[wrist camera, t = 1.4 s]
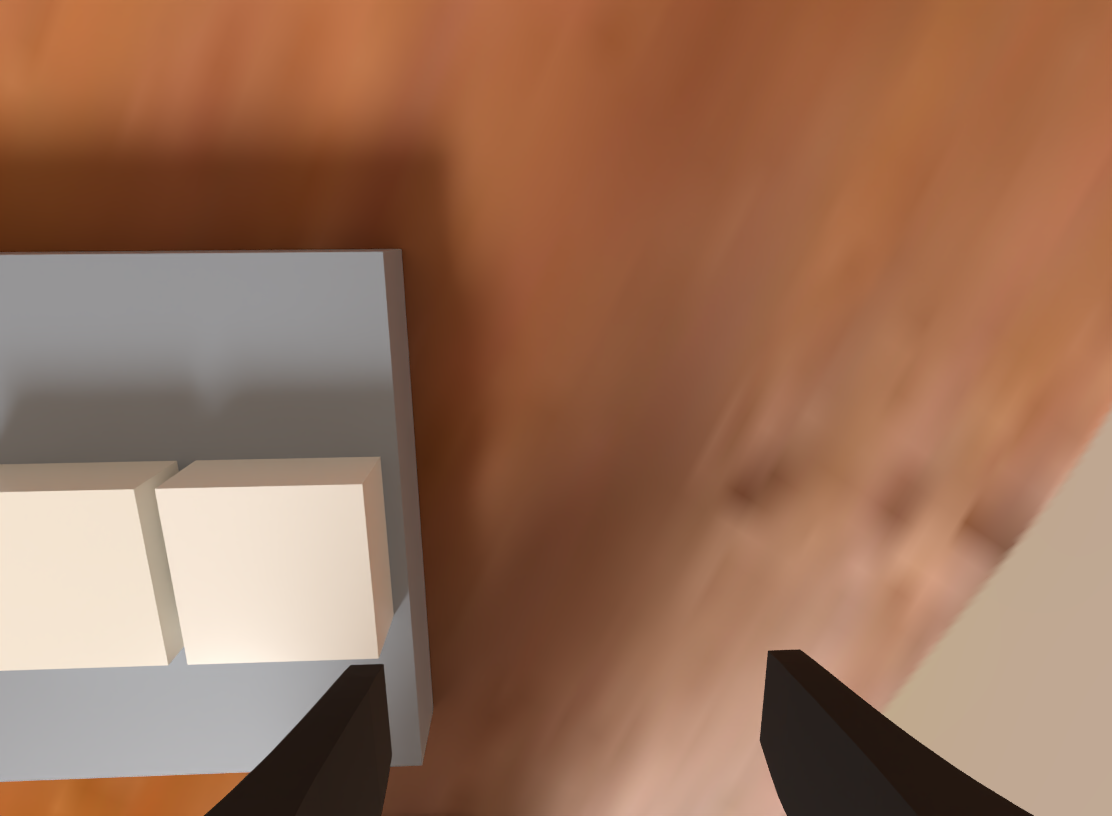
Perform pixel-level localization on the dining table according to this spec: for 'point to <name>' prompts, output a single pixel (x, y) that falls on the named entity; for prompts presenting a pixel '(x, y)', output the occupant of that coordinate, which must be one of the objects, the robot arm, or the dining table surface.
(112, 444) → the board
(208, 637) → the tile
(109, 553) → the tile
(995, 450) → the dining table surface
